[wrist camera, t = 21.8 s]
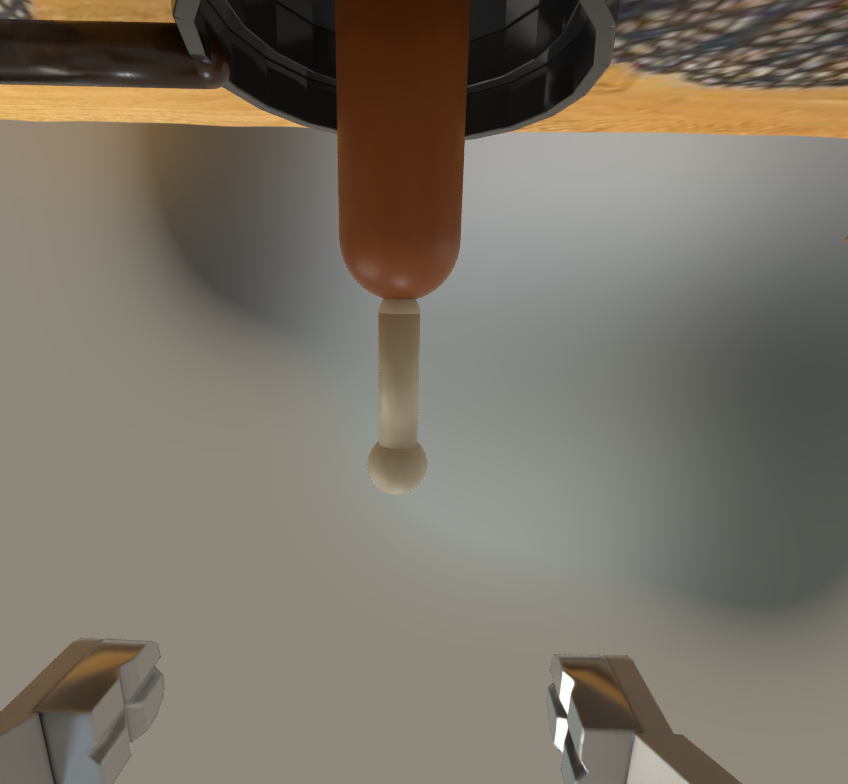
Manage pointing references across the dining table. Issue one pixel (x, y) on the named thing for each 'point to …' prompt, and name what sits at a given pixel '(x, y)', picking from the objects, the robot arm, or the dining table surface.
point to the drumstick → (400, 189)
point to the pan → (487, 56)
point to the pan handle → (106, 55)
